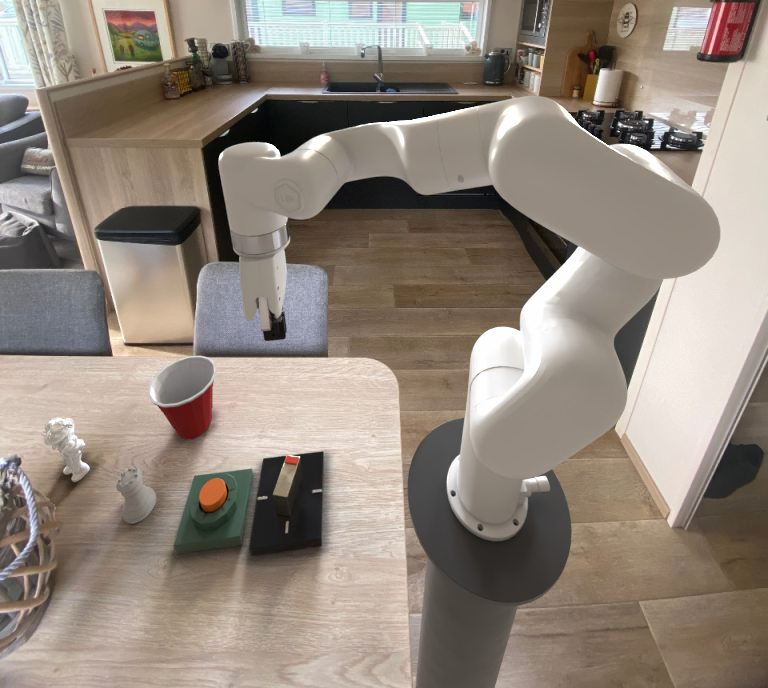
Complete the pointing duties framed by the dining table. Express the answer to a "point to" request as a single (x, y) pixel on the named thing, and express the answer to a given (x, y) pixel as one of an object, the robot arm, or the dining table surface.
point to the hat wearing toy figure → (66, 446)
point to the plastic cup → (185, 394)
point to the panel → (306, 515)
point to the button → (213, 495)
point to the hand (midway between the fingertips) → (275, 336)
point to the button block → (215, 514)
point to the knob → (287, 486)
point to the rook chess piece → (135, 495)
